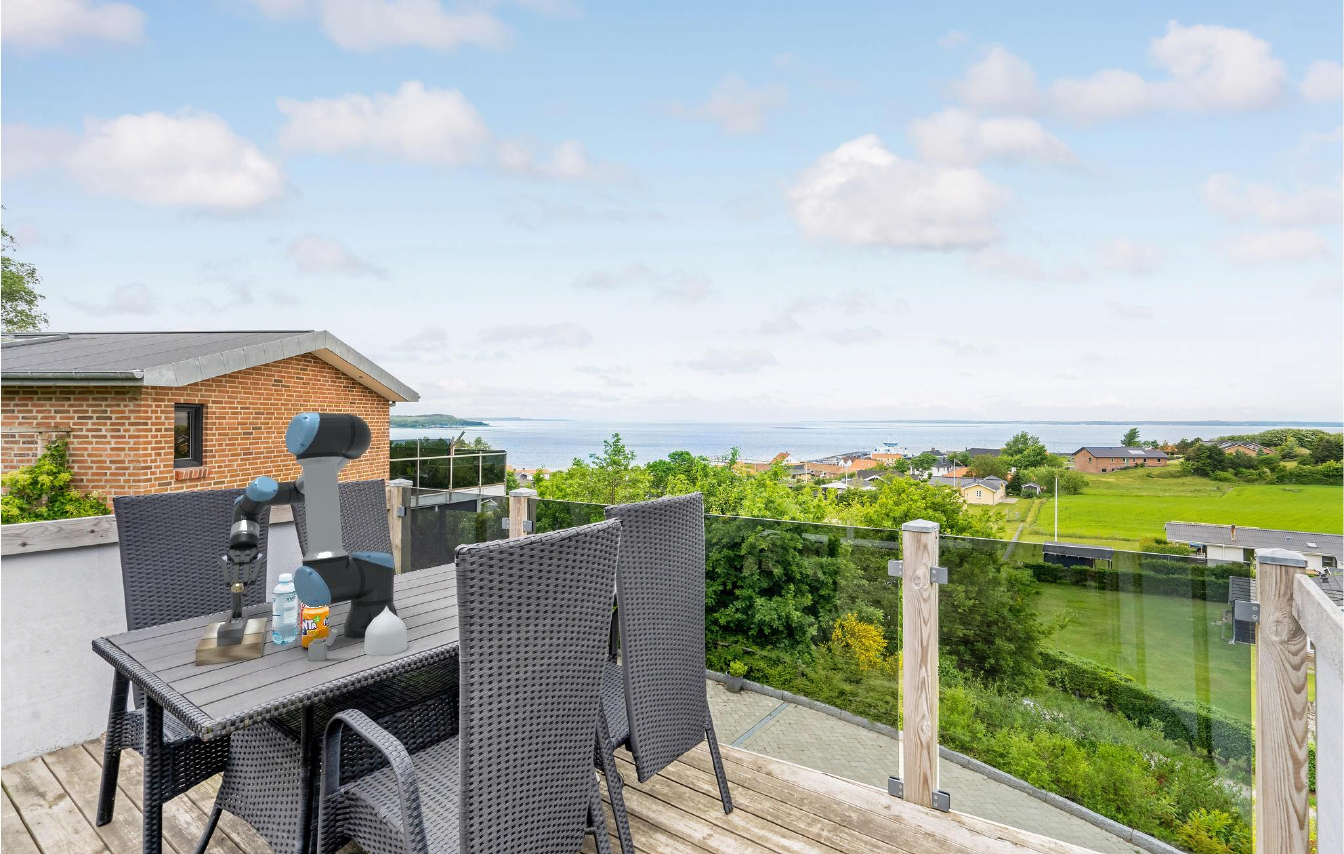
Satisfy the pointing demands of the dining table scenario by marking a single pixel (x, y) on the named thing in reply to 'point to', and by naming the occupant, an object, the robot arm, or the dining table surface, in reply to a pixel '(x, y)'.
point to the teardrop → (385, 635)
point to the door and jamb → (232, 641)
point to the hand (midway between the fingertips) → (238, 605)
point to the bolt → (237, 602)
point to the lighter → (321, 647)
